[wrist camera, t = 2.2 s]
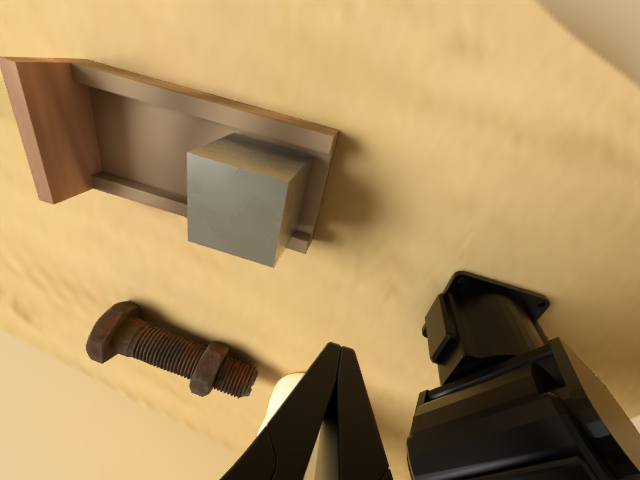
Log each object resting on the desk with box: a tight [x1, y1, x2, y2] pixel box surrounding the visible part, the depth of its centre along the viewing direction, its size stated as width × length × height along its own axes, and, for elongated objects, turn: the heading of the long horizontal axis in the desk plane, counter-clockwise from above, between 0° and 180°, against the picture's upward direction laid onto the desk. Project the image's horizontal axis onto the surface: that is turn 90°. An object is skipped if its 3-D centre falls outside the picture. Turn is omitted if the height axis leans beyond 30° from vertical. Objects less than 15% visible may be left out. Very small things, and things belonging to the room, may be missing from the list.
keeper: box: [187, 133, 313, 268], centre depth 17 cm, size 5×5×5 cm
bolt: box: [86, 301, 258, 398], centre depth 30 cm, size 6×5×15 cm
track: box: [0, 57, 339, 254], centre depth 19 cm, size 17×8×5 cm, turn 77°
